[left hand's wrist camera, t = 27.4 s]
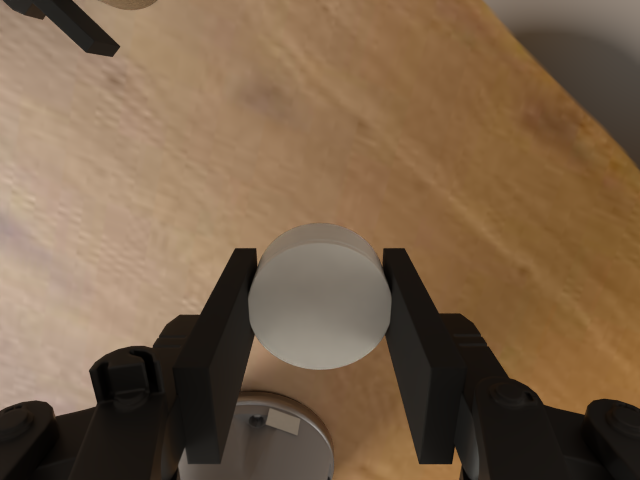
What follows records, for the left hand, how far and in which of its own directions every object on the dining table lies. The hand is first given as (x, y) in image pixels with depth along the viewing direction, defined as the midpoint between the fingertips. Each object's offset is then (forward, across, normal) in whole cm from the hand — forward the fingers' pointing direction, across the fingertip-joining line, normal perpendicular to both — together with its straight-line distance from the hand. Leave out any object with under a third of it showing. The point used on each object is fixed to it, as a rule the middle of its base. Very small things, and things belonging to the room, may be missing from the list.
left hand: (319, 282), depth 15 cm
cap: (-2, 0, 0) cm, 2 cm away
